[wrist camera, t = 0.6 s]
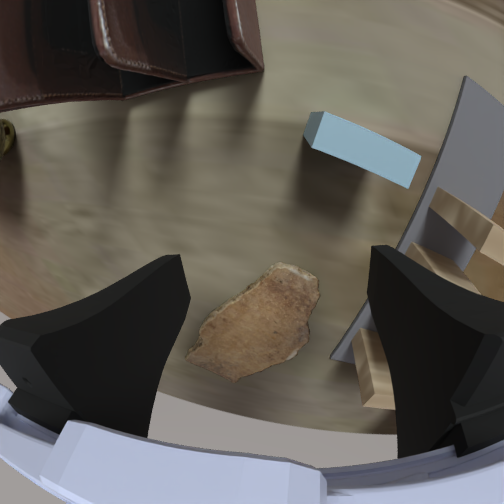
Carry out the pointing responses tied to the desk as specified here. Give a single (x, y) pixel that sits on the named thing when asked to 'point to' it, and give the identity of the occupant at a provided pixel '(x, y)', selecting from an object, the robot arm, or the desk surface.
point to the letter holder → (120, 47)
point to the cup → (6, 137)
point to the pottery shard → (258, 324)
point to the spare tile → (361, 147)
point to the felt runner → (453, 188)
